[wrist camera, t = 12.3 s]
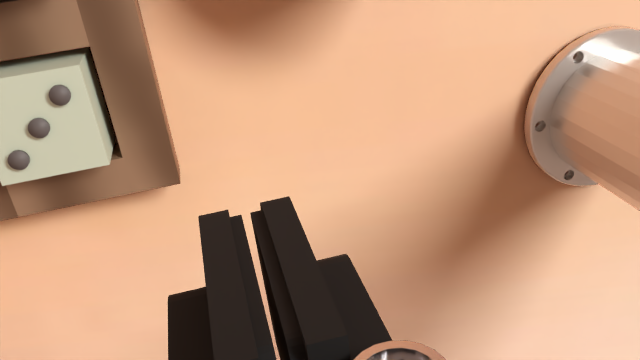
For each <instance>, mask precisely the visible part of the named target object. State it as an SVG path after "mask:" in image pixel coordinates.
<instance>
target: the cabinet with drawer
mask: <svg viewBox="0 0 640 360" xmlns="http://www.w3.org/2000/svg"><path fill="white" fill-rule="evenodd" d="M89 46H90V48H91V52H92V55H93V59H94V62H95V65H96V69H97V72H98V76H99V79H100V82H101V86H102V89H103V93H104V96H105V99H106V103H107V106H108V110H109V113H110V116H111V120H112V123H113V126H114V130H115V133H116V137H117V140H118V143H119V145H114V146H113V151H112V156H111V161H110V165H106V166H101V167H96V168H91V169H86V170H80V171H75V172H70V173H65V174H60V175H55V176H50V177H45V178H40V179H35V180H30V181H25V182H20V183H15V184H10V185H5V186H2V184H1V182H0V221H2V220H7V219H12V218H17V217H22V216H26V215H31V214H36V213H41V212H46V211H51V210H55V209H60V208H65V207H70V206H75V205H79V204H84V203H89V202H94V201H99V200H103V199H108V198H113V197H118V196H123V195H128V194H132V193H137V192H142V191H147V190H152V189H156V188H161V187H166V186H171V185H176V184H180V169H179V164H178V160H177V156H176V152H175V148H174V144H173V140H172V136H171V132H170V128H169V124H168V120H167V116H166V112H165V108H164V104H163V100H162V96H161V92H160V88H159V84H158V80H157V76H156V72H155V68H154V64H153V60H152V56H151V52H150V48H149V44H148V40H147V36H146V32H145V28H144V24H143V20H142V16H141V12H140V8H139V4H138V0H0V61H5V60H11V59H17V58H23V57H29V56H35V55H41V54H47V53H53V52H59V51H65V50H71V49H77V48H83V47H89Z"/></svg>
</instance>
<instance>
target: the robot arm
mask: <svg viewBox="0 0 640 360" xmlns="http://www.w3.org/2000/svg"><path fill="white" fill-rule="evenodd" d="M524 130H525V140H526V144H527V147H528V150H529V153H530V155H531V157H532V158H533V160H534V162H535V163H536V165H537V166H538V167H539V168H540V169H542V170H543V171H544V172H545V173H546V174H548V175H549V176H551V177H552V178H553V179H555V180H557V181H559V182H561V183H564V184H567V185H573V186H592V185H596V184H599V185H601V186H602V187H604V188H605V189H607V190H608V191H610V192H611V193H613V194H615V195H616V196H618V197H619V198H621V199H622V200H624V201H625V202H627V203H628V204H630V205H631V206H633V207H634V208H636V209H637V210H639V211H640V30H638V29H634V28H630V27H616V26H613V27H608V28H602V29H598V30H595V31H593V32H590V33H588V34H585V35H583V36H582V37H580V38H578V39H577V40H575V41H573V42H572V43H570V44H569V45H568V46H567V47H565V48H564V49H563V50H562V51H561V52H560V53H558V54H557V55H556V56H555V58H554V59H553V60H552V61H551V62H550V63H549V64H548V66H547V67H546V68H545V69H544V71H543V73H542V74H541V76H540V77H539V79H538V80H537V82H536V84H535V86H534V89H533V91H532V93H531V95H530V98H529V102H528V105H527V109H526V113H525V125H524ZM260 206H261V211H256V212H252V213H251V219H252V224H253V229H254V234H255V239H256V244H257V249H258V254H259V259H260V265H261V270H262V275H263V280H264V285H265V290H266V295H267V300H268V305H269V310H270V315H271V320H272V325H273V330H274V335H275V339H276V344H277V348H278V352H279V356H280V360H446V359H445V358H444V357H443V356H441V355H440V354H439V353H438V352H437V351H436V350H434V349H432V348H430V347H428V346H425V345H423V344H421V343H416V342H411V341H406V340H403V341H392V339H391V337H390V335H389V333H388V331H387V330H386V328H385V326H384V324H383V322H382V320H381V318H380V316H379V314H378V312H377V310H376V308H375V306H374V304H373V302H372V301H371V299H370V297H369V295H368V293H367V291H366V289H365V287H364V285H363V283H362V281H361V279H360V277H359V275H358V273H357V272H356V270H355V268H354V266H353V264H352V262H351V260H350V258H349V257H348V255H346V254H343V255H339V256H335V257H330V258H326V259H322V260H318V261H316V259H315V256H314V254H313V251H312V249H311V247H310V244H309V242H308V240H307V237H306V235H305V232H304V230H303V228H302V225H301V223H300V221H299V218H298V216H297V214H296V211H295V209H294V206H293V204H292V202H291V199H290V197H284V198H280V199H275V200H271V201H266V202H261V203H260ZM199 226H200V235H201V245H202V254H203V263H204V272H205V282H206V287H203V288H199V289H195V290H190V291H186V292H182V293H178V294H173V295H169V297H168V360H276V356H275V351H274V347H273V343H272V338H271V334H270V330H269V326H268V322H267V318H266V314H265V310H264V306H263V302H262V298H261V294H260V289H259V285H258V281H257V277H256V273H255V269H254V265H253V261H252V257H251V253H250V249H249V244H248V240H247V236H246V232H245V228H244V224H243V220H242V216H241V215H238V216H233V217H229V212H228V210H225V211H220V212H215V213H211V214H206V215H201V216H199Z"/></svg>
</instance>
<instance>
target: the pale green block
mask: <svg viewBox="0 0 640 360" xmlns="http://www.w3.org/2000/svg"><path fill="white" fill-rule="evenodd" d="M114 141H115V136H114V133H113V129H112V126H111V122H110V119H109V116H108V112H107V109H106V106H105V102H104V99H103V95H102V92H101V89H100V85H99V82H98V79H97V75H96V72H95V68H94V65H93V62H92V58H91V55H90V52H89V48H88V47H86V48H80V49H74V50H68V51H62V52H56V53H50V54H44V55H38V56H32V57H26V58H20V59H14V60H8V61H3V62H0V182H1V184H2V186H5V185H10V184H15V183H20V182H25V181H30V180H35V179H40V178H45V177H50V176H55V175H60V174H65V173H70V172H75V171H80V170H86V169H91V168H96V167H101V166H106V165H110V161H111V156H112V151H113V146H114Z"/></svg>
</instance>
